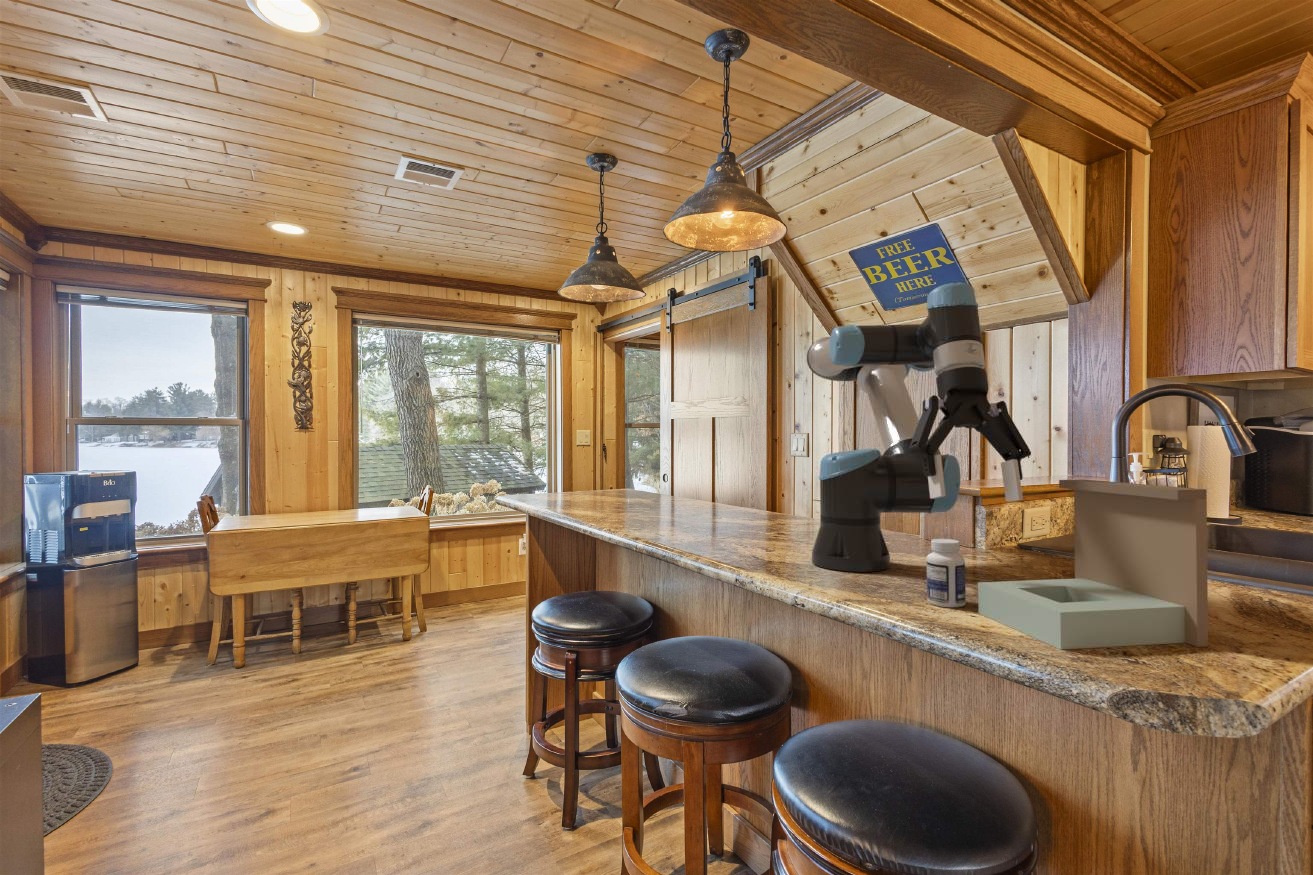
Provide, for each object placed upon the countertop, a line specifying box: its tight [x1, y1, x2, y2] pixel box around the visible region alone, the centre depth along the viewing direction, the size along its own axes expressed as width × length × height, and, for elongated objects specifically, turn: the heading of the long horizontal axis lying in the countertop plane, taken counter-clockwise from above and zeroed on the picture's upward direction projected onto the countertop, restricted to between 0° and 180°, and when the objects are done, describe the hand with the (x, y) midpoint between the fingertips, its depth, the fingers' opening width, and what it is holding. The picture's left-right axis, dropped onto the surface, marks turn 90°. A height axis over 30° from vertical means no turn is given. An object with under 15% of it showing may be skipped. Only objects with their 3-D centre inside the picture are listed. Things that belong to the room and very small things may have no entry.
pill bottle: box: [926, 538, 967, 608], centre depth 91 cm, size 5×5×10 cm
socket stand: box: [977, 478, 1209, 651], centre depth 80 cm, size 18×18×19 cm
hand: (976, 499), depth 93 cm, fingers open, 13 cm apart
